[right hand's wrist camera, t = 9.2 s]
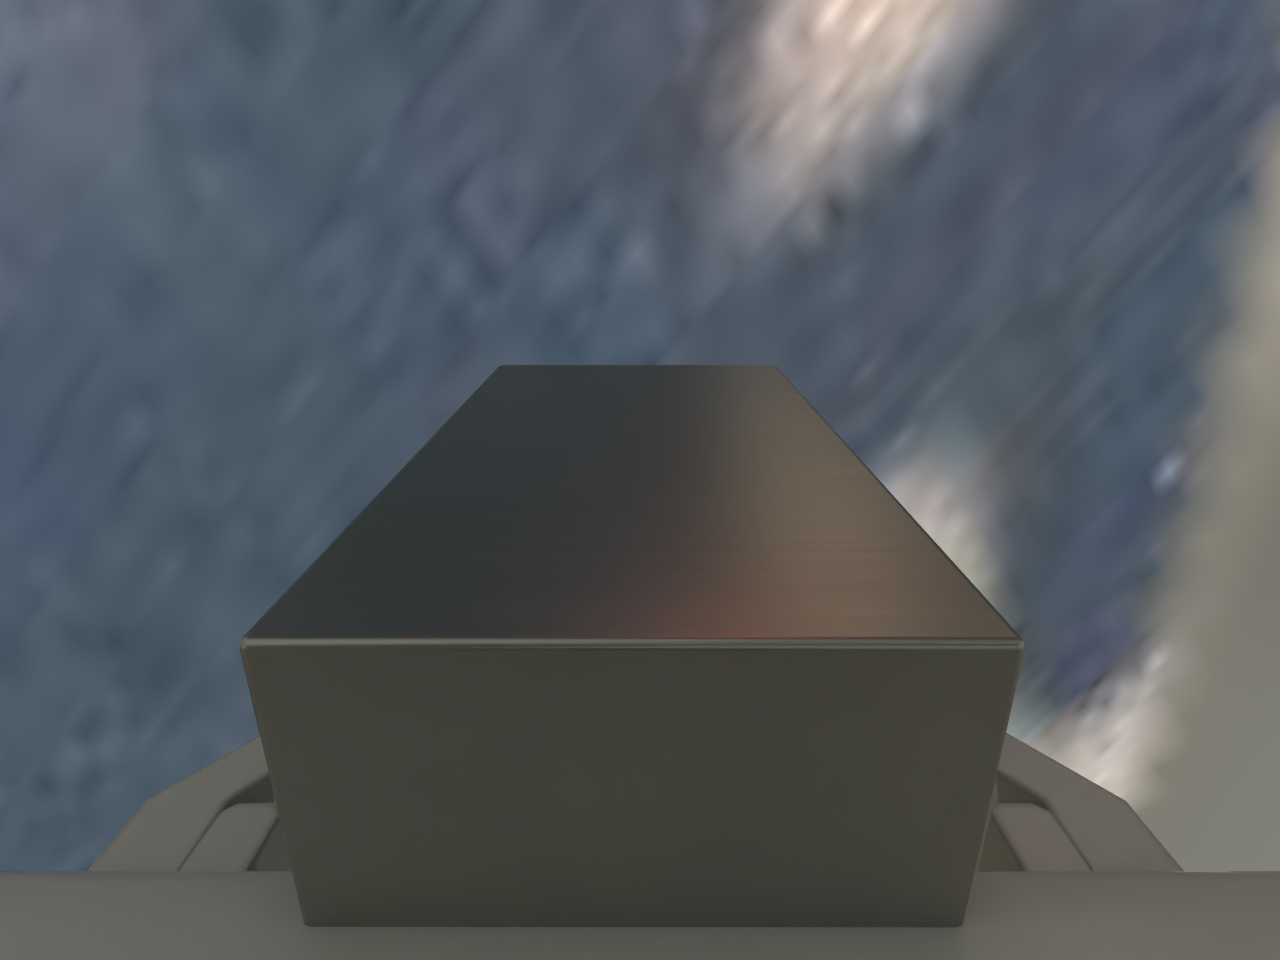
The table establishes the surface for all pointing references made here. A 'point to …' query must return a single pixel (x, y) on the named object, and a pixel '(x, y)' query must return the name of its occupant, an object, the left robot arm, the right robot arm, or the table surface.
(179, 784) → the right robot arm
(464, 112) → the table surface
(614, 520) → the bar
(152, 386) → the table surface
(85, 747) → the table surface
